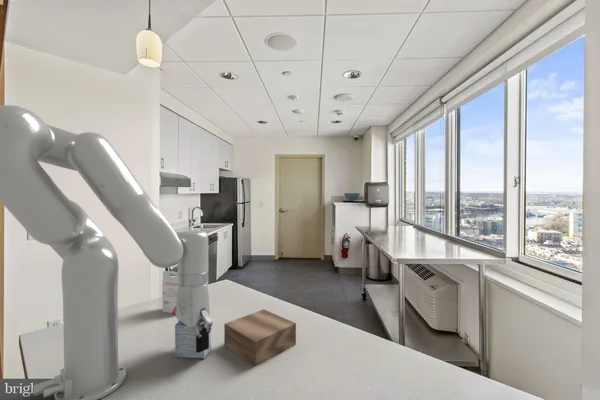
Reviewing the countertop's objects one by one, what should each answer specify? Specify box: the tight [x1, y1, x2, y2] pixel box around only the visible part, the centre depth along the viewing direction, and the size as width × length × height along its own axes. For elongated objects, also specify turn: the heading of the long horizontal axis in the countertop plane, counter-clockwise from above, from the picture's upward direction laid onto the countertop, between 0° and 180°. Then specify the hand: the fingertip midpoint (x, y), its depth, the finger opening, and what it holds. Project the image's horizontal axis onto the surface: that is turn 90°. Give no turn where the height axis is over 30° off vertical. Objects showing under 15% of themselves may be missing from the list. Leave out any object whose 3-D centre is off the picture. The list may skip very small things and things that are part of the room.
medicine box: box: [174, 321, 212, 359], centre depth 75 cm, size 8×4×9 cm, turn 85°
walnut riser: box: [223, 309, 297, 367], centre depth 80 cm, size 14×14×6 cm
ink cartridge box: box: [161, 270, 178, 315], centre depth 103 cm, size 9×5×15 cm, turn 73°
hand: (193, 343), depth 75 cm, fingers closed on medicine box, 9 cm apart
